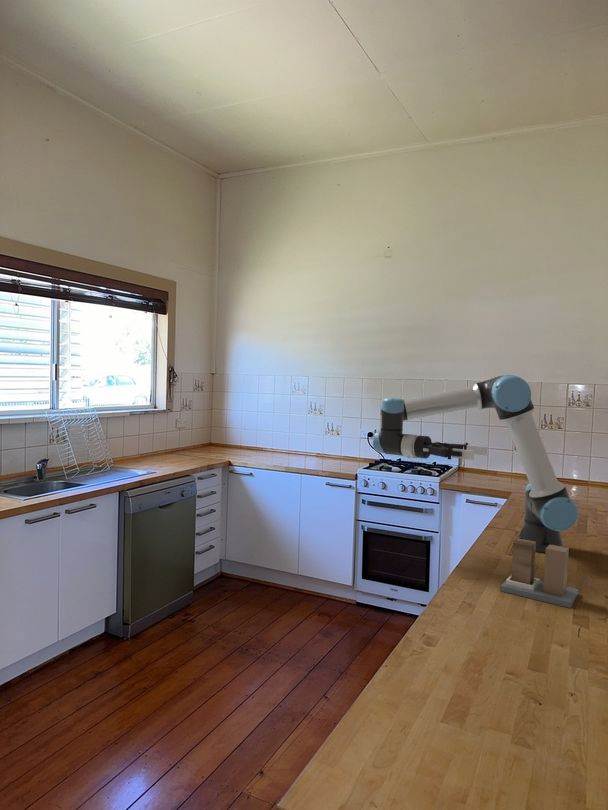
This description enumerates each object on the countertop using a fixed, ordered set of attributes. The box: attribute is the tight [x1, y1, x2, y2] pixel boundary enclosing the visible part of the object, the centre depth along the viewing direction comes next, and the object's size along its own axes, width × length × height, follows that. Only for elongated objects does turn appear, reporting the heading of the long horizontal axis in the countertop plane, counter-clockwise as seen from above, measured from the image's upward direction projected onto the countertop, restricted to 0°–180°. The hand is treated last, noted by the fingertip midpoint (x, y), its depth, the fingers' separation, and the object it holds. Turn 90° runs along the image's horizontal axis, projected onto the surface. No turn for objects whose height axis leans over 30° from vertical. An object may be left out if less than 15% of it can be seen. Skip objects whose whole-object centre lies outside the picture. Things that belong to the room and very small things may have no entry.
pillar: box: [510, 538, 536, 585], centre depth 159 cm, size 5×5×12 cm
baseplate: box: [500, 544, 579, 609], centre depth 157 cm, size 12×18×14 cm, turn 55°
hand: (480, 453), depth 176 cm, fingers open, 13 cm apart
